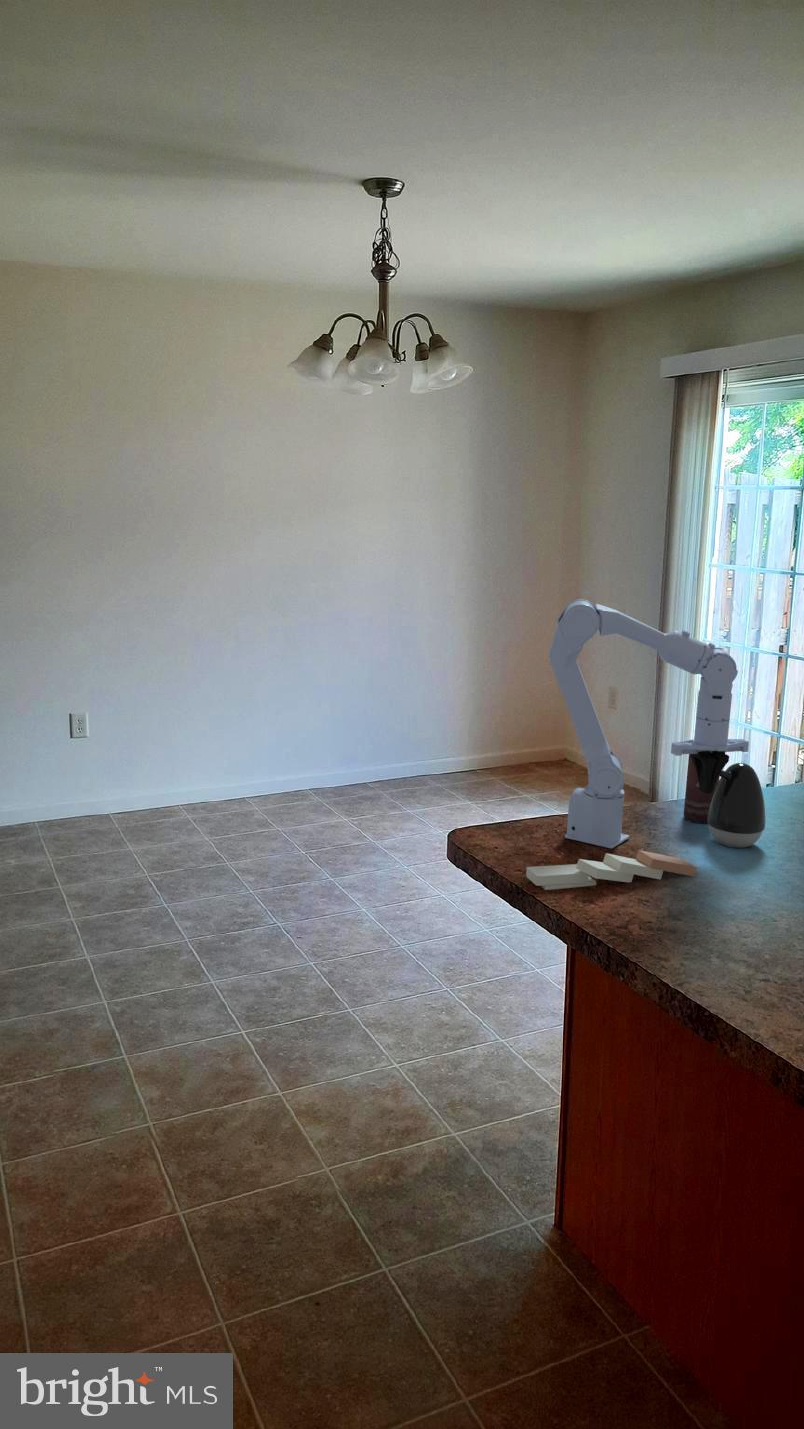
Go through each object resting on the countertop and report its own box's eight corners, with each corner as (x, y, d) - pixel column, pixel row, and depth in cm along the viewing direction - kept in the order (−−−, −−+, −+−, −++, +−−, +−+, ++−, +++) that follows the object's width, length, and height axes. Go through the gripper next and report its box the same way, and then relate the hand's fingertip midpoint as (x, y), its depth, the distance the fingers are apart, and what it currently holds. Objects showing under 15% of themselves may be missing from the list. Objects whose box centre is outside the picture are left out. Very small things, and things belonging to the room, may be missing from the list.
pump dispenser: (692, 837, 196) (699, 758, 192) (736, 831, 200) (744, 754, 196) (729, 855, 186) (737, 772, 183) (775, 848, 191) (783, 768, 187)
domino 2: (595, 891, 171) (544, 895, 168) (583, 881, 175) (533, 885, 172) (596, 881, 171) (545, 885, 168) (584, 872, 175) (534, 876, 172)
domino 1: (588, 882, 170) (536, 885, 168) (576, 873, 174) (526, 876, 172) (588, 872, 170) (537, 876, 167) (577, 864, 174) (526, 867, 171)
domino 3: (631, 882, 172) (595, 878, 167) (611, 873, 176) (575, 868, 170) (634, 873, 172) (598, 868, 166) (614, 864, 175) (578, 858, 170)
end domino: (693, 876, 176) (650, 867, 172) (678, 867, 180) (635, 858, 176) (696, 867, 176) (653, 858, 172) (681, 858, 180) (638, 849, 176)
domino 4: (660, 879, 174) (618, 871, 170) (644, 870, 178) (602, 862, 174) (663, 870, 174) (621, 861, 170) (646, 861, 178) (605, 853, 174)
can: (719, 817, 208) (726, 749, 205) (710, 826, 202) (716, 755, 199) (689, 812, 211) (695, 744, 208) (679, 820, 206) (685, 750, 203)
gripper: (689, 724, 179) (682, 800, 182) (761, 721, 184) (754, 795, 187) (667, 715, 186) (661, 789, 189) (738, 712, 190) (731, 784, 193)
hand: (705, 791), depth 188 cm, fingers closed
